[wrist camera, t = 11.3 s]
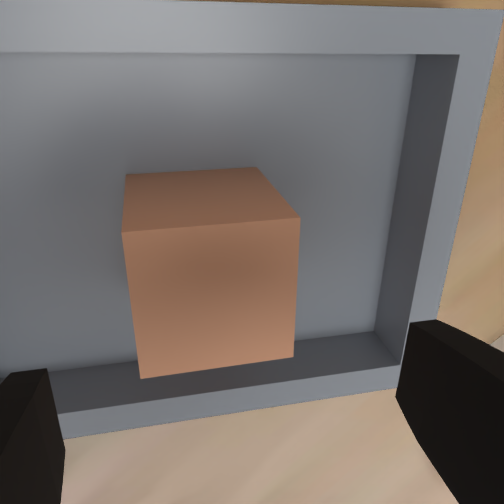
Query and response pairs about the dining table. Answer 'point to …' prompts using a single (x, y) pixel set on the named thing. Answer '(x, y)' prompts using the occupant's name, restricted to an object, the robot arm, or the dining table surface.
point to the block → (209, 269)
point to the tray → (224, 157)
